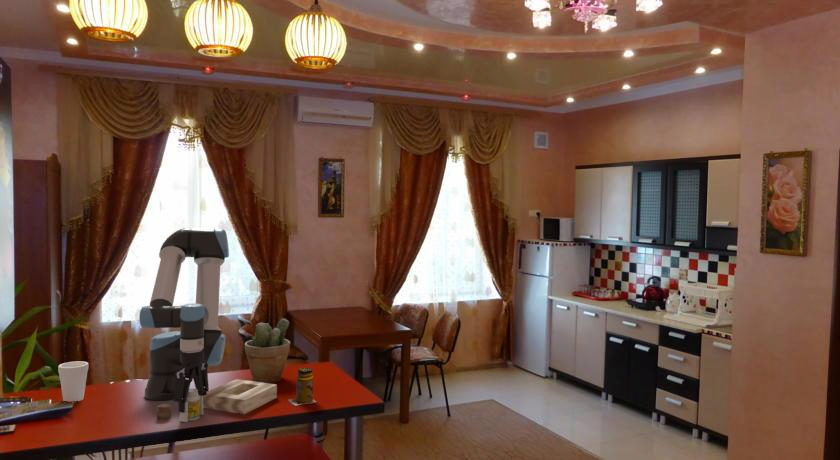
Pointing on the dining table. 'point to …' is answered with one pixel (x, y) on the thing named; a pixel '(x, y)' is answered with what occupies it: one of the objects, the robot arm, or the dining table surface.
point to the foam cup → (73, 380)
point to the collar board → (240, 396)
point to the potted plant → (268, 352)
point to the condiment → (304, 387)
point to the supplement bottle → (193, 404)
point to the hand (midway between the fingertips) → (191, 417)
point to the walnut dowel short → (163, 411)
